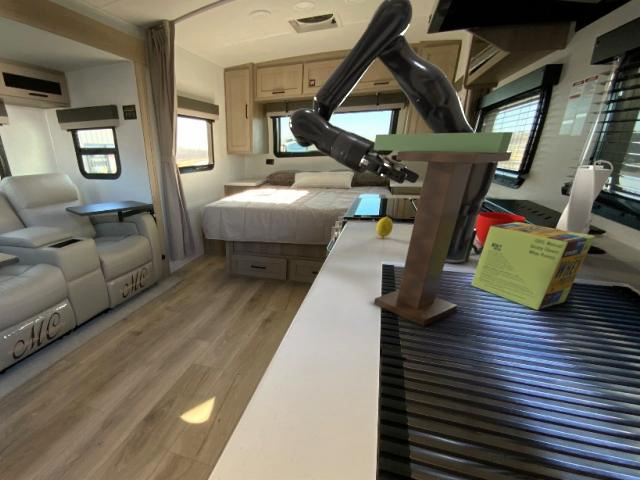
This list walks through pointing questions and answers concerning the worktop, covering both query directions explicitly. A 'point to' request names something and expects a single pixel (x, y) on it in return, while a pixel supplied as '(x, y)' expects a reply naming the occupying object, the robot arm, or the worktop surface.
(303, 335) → the worktop surface
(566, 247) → the protein box
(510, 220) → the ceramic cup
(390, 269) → the worktop surface
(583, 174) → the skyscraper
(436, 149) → the sage bar
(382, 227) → the lemon
